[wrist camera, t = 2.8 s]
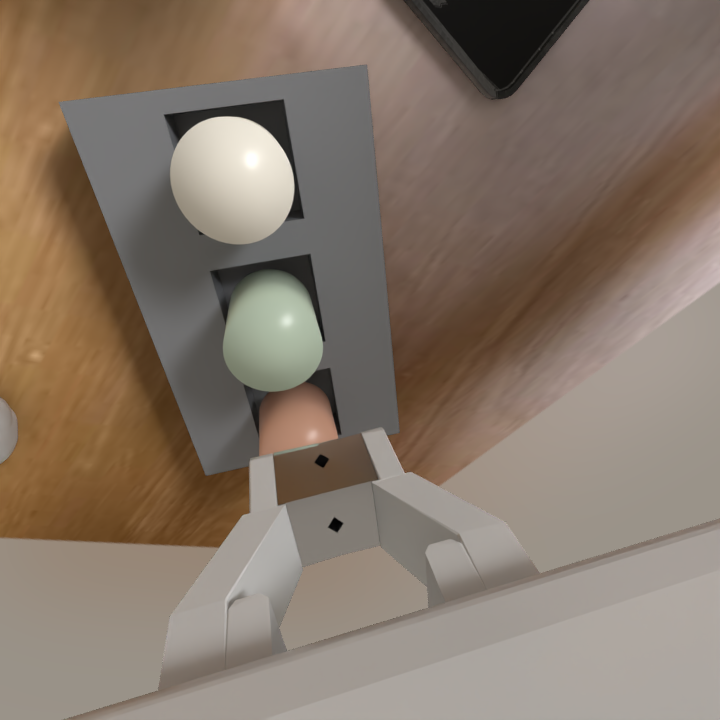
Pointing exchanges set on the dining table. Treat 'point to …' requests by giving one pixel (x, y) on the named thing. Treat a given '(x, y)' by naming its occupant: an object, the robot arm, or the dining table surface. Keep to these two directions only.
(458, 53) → the phone
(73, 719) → the robot arm
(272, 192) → the ivory button
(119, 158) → the grey rectangular tray
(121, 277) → the dining table surface
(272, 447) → the terracotta button
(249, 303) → the sage button
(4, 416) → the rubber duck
